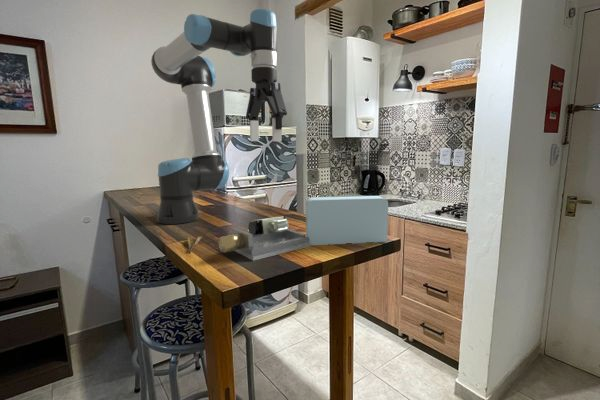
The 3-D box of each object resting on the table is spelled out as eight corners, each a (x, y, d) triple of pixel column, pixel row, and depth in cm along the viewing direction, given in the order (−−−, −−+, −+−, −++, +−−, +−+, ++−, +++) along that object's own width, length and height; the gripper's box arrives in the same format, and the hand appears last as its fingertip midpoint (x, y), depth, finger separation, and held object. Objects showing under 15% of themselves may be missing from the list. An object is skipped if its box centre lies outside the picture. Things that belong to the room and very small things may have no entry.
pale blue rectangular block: (380, 237, 98) (382, 195, 96) (387, 243, 93) (388, 198, 91) (306, 240, 97) (305, 197, 95) (307, 246, 91) (307, 200, 89)
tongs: (184, 255, 85) (184, 248, 85) (187, 241, 98) (187, 235, 97) (201, 253, 87) (201, 246, 86) (202, 240, 99) (201, 234, 99)
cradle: (234, 265, 76) (233, 240, 75) (212, 251, 87) (210, 229, 86) (310, 246, 90) (310, 225, 89) (283, 236, 100) (282, 217, 100)
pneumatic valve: (297, 214, 98) (276, 216, 107) (264, 220, 91) (244, 221, 100) (300, 233, 98) (278, 233, 107) (266, 240, 91) (246, 239, 100)
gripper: (234, 73, 105) (236, 141, 108) (275, 58, 85) (276, 141, 89) (255, 76, 109) (256, 141, 113) (299, 62, 89) (299, 141, 93)
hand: (265, 141), depth 101 cm, fingers open, 13 cm apart
